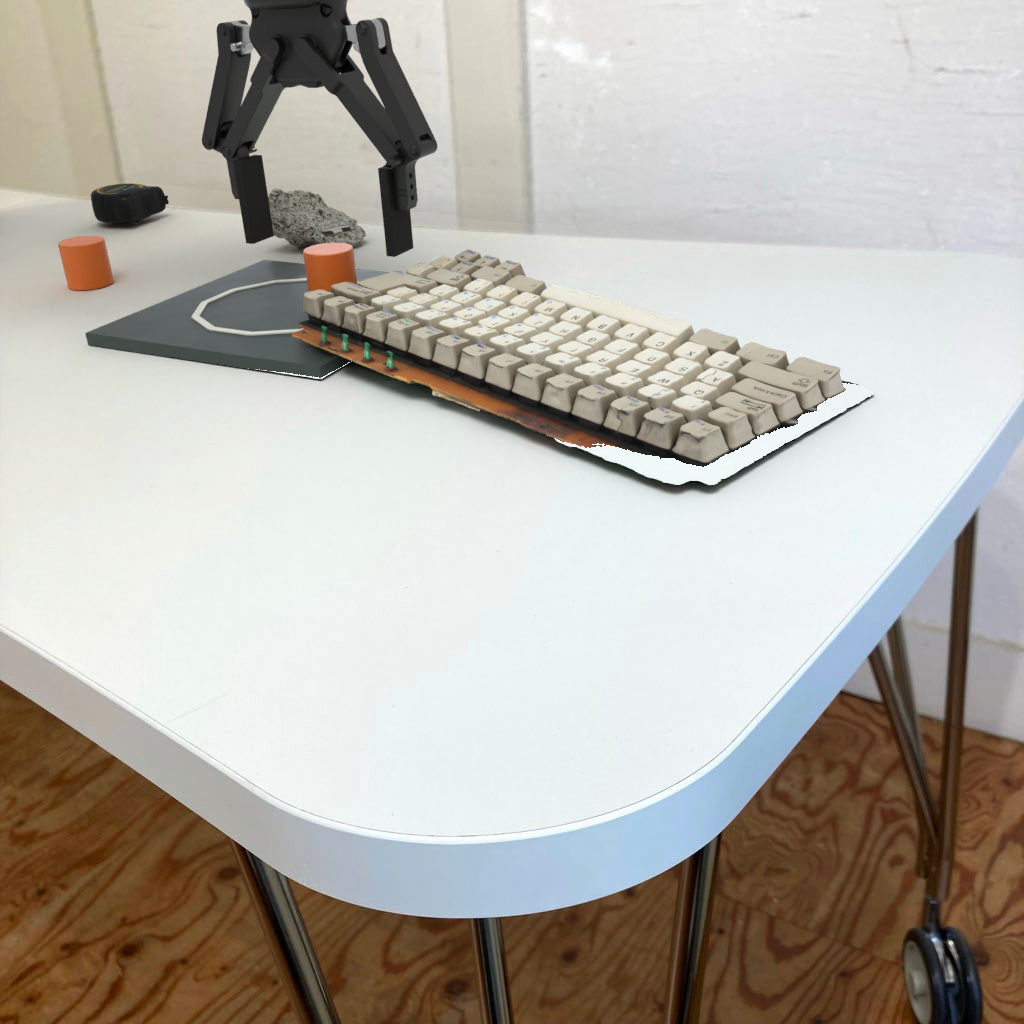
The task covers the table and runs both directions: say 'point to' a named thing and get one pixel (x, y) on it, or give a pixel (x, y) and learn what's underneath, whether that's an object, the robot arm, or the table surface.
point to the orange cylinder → (86, 262)
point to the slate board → (231, 323)
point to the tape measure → (127, 202)
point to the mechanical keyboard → (565, 359)
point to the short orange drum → (329, 265)
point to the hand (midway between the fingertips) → (327, 246)
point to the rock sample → (310, 220)
